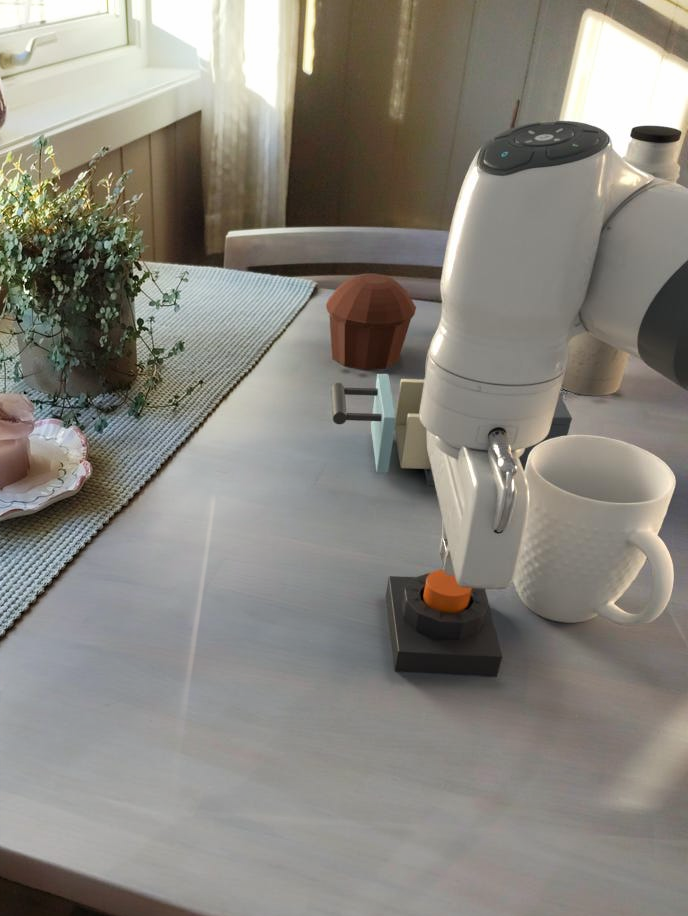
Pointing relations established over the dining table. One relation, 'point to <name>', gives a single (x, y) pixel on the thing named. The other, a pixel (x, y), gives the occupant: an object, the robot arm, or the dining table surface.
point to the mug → (593, 529)
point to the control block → (440, 632)
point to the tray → (389, 421)
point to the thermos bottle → (589, 357)
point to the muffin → (369, 321)
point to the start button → (445, 593)
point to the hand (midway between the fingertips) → (452, 564)
